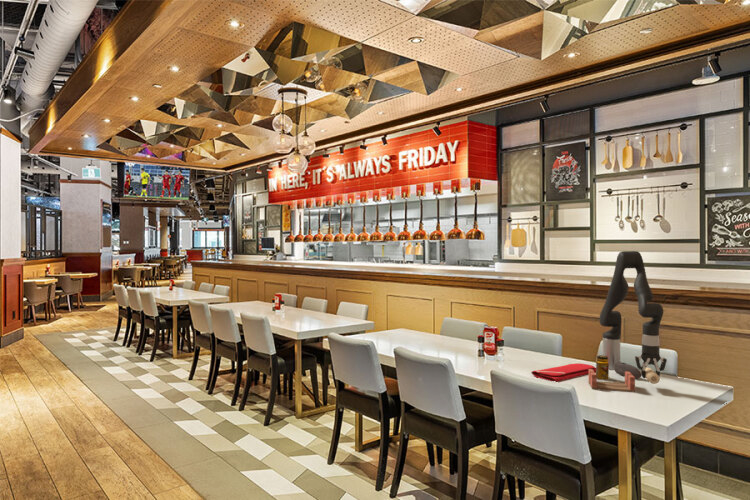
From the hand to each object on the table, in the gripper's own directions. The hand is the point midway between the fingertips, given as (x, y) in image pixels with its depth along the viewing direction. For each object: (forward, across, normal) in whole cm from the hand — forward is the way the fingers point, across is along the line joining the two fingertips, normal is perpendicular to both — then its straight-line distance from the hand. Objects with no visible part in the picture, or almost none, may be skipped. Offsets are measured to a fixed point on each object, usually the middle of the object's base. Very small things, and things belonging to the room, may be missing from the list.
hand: (650, 378), depth 235 cm
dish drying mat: (+7, +37, -21) cm, 43 cm away
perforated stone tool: (+6, +5, -23) cm, 24 cm away
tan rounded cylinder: (+1, 0, 0) cm, 1 cm away
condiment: (+6, +20, -16) cm, 26 cm away
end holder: (+6, +18, +1) cm, 19 cm away
